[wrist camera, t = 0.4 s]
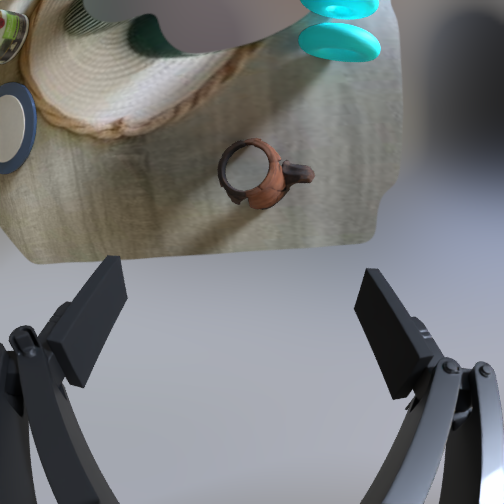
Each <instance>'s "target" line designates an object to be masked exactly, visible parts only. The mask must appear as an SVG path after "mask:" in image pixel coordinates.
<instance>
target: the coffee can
mask: <svg viewBox="0 0 504 504" xmlns="http://www.w3.org/2000/svg"><path fill="white" fill-rule="evenodd" d="M28 28H29V21H28V18H27V16H26V15H24V14H19V13H15V12H10V11H6V10H1V9H0V64H4V63H7V62H9V61H10V60H11V59H12V58H13V57H14V56H15V55H16V54H17V53H18V52H19V50H20V49H21V47H22V45H23V43H24V41H25V39H26V36H27V33H28Z"/></svg>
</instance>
